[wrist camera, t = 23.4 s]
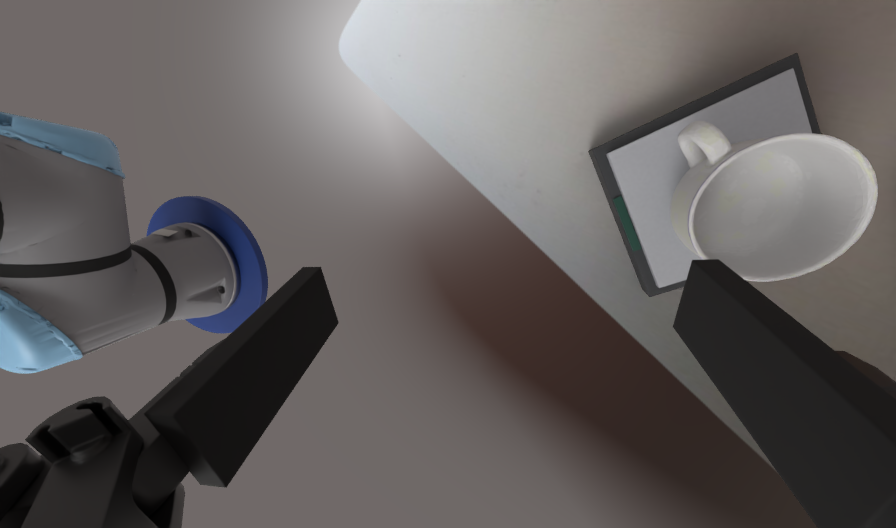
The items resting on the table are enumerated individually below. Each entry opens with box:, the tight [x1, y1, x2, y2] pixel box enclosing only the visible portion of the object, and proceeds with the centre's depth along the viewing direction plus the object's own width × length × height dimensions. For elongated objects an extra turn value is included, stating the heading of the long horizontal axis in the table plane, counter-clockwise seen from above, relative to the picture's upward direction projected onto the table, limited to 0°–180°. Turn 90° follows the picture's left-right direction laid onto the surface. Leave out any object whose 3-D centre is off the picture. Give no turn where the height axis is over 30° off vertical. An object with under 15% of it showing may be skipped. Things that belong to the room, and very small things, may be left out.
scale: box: [589, 53, 821, 297], centre depth 32 cm, size 17×17×3 cm
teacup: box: [670, 121, 878, 282], centre depth 27 cm, size 14×11×8 cm
